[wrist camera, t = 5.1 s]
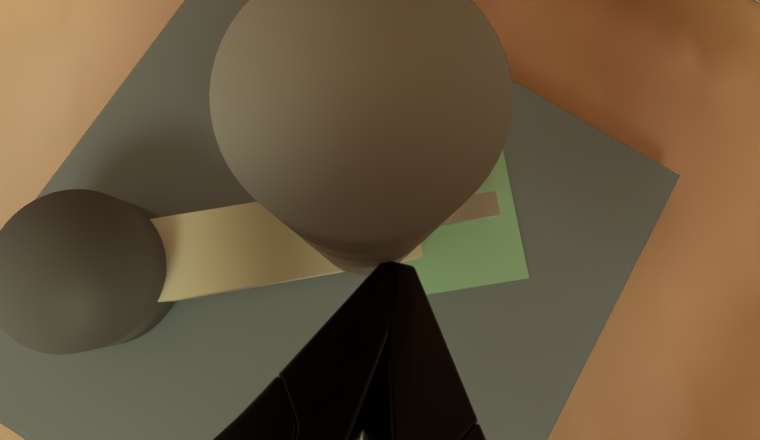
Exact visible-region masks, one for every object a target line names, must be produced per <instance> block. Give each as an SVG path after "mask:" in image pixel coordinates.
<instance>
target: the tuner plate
mask: <svg viewBox="0 0 760 440" xmlns="http://www.w3.org/2000/svg"><path fill="white" fill-rule="evenodd" d="M248 1H249V0H185V1H184V2H183V3H182V5H181V6H180V7H179V9H178V10H177V11H176V13H175V14H174V15H173V17H172V18H171V19H170V21H169V22H168V23H167V25H166V26H165V27H164V29H163V30H162V31H161V33H160V34H159V35H158V37H157V38H156V39H155V41H154V42H153V43H152V45H151V46H150V47H149V49H148V50H147V51H146V53H145V54H144V55H143V57H142V58H141V59H140V61H139V62H138V63H137V65H136V66H135V67H134V69H133V70H132V71H131V73H130V74H129V75H128V77H127V78H126V79H125V81H124V82H123V83H122V85H121V86H120V87H119V89H118V90H117V91H116V93H115V94H114V95H113V97H112V98H111V99H110V101H109V102H108V103H107V105H106V106H105V107H104V109H103V110H102V111H101V113H100V114H99V115H98V117H97V118H96V119H95V121H94V122H93V123H92V125H91V126H90V127H89V129H88V130H87V131H86V133H85V134H84V135H83V137H82V138H81V139H80V141H79V142H78V143H77V145H76V146H75V147H74V149H73V150H72V151H71V153H70V154H69V155H68V157H67V158H66V159H65V161H64V162H63V163H62V165H61V166H60V167H59V169H58V170H57V171H56V173H55V174H54V175H53V177H52V178H51V179H50V181H49V182H48V184H47V185H46V186H45V188H44V189H43V190H42V192H41V193H40V194H39V196H38V197H37V198H36V199H38V198H40V197H42V196H45V195H47V194H50V193H53V192H58V191H62V190H70V189H87V190H93V191H98V192H101V193H104V194H107V195H110V196H113V197H115V198H118V199H121V200H123V201H126V202H129V203H131V204H134V205H137V206H139V207H142V208H144V209H146V210H148V211H150V212H152V213H154V214H155V215H157V216H158V217H159V218H160V217H166V216H172V215H178V214H184V213H190V212H196V211H203V210H209V209H215V208H221V207H227V206H233V205H239V204H246V203H252V202H257V201H256V200H255V199H254V198H253V197H252V196H251V195H250V194H249V193H248V192H247V191H246V190H245V188H244V187H243V186H242V185H241V184H240V183H239V181H238V180H237V178H236V177H235V176H234V174H233V173H232V171H231V170H230V168H229V167H228V165H227V163H226V161H225V159H224V157H223V155H222V153H221V151H220V148H219V145H218V143H217V140H216V137H215V134H214V130H213V125H212V120H211V115H210V99H209V92H210V80H211V73H212V69H213V64H214V60H215V56H216V54H217V51H218V49H219V46H220V43H221V41H222V39H223V37H224V35H225V33H226V31H227V29H228V28H229V26H230V24H231V22H232V21H233V20H234V18H235V17H236V16H237V14H238V13H239V12H240V10H241V9H242V8H243V7H244V6H245V5H246V3H247V2H248ZM511 81H512V80H511ZM512 94H513V107H512V116H511V124H510V128H509V131H508V135H507V139H506V143H505V145H504V147H503V150H502V152H501V155H500V157H499V159H498V161H497V163H496V165H495V166H494V168H493V170H492V171H491V173H490V175H489V176H488V178H487V179H486V180H485V181H484V183H483V184H482V185H481V186H480V188H479V189H478V190H477V191H476V192H475V193H474V194H480V193H486V192H492V191H496V195H497V200H498V204H499V209H500V214H499V215H497V216H496V217H492V218H486V219H480V220H474V221H468V222H462V223H456V224H451V225H445V226H439V227H438V228H437V229H436V230H435V231H434V232H433V233H432V234H430V235H429V236H428V237H427V238H426V239H425V240H424V241H423V242H422V243H421V246H422V252H423V257H421V258H420V259H416V260H411V261H405V262H400V263H403V264H407V265H411V266H413V267H414V268H415V269H416V271H417V274H418V276H419V279H420V281H421V283H422V286H423V288H424V291H425V293H426V296H427V298H428V300H429V303H430V305H431V308H432V310H433V313H434V315H435V317H436V320H437V322H438V325H439V327H440V329H441V332H442V334H443V337H444V339H445V342H446V344H447V346H448V349H449V351H450V354H451V356H452V359H453V361H454V363H455V366H456V368H457V371H458V373H459V375H460V378H461V380H462V383H463V385H464V388H465V390H466V392H467V395H468V397H469V400H470V402H471V405H472V407H473V409H474V412H475V414H476V417H477V419H478V422H477V424H479V425H480V426H481V428H482V431H483V433H484V436H485V438H486V440H547V438H548V436H549V434H550V433H551V431H552V429H553V427H554V425H555V423H556V421H557V419H558V417H559V415H560V413H561V411H562V409H563V407H564V405H565V403H566V401H567V399H568V397H569V395H570V393H571V391H572V389H573V387H574V385H575V383H576V381H577V379H578V377H579V375H580V373H581V371H582V369H583V367H584V365H585V363H586V361H587V359H588V357H589V355H590V353H591V351H592V349H593V347H594V345H595V343H596V341H597V339H598V337H599V335H600V333H601V331H602V329H603V327H604V325H605V323H606V321H607V319H608V317H609V315H610V313H611V311H612V309H613V307H614V305H615V303H616V301H617V300H618V298H619V296H620V294H621V292H622V290H623V288H624V286H625V284H626V282H627V280H628V278H629V276H630V274H631V272H632V270H633V268H634V266H635V264H636V262H637V260H638V258H639V256H640V254H641V252H642V250H643V248H644V246H645V244H646V242H647V240H648V238H649V236H650V234H651V232H652V230H653V228H654V226H655V224H656V222H657V220H658V218H659V216H660V214H661V212H662V210H663V208H664V206H665V204H666V202H667V200H668V198H669V196H670V194H671V192H672V190H673V188H674V186H675V184H676V182H677V180H678V178H679V176H680V175H678V174H676V173H675V172H673V171H671V170H669V169H668V168H666V167H664V166H662V165H660V164H659V163H657V162H655V161H653V160H652V159H650V158H648V157H646V156H645V155H643V154H641V153H639V152H638V151H636V150H634V149H632V148H630V147H629V146H627V145H625V144H623V143H622V142H620V141H618V140H616V139H615V138H613V137H611V136H609V135H608V134H606V133H604V132H602V131H601V130H599V129H597V128H595V127H593V126H592V125H590V124H588V123H586V122H585V121H583V120H581V119H579V118H578V117H576V116H574V115H572V114H571V113H569V112H567V111H565V110H563V109H562V108H560V107H558V106H556V105H555V104H553V103H551V102H549V101H548V100H546V99H544V98H542V97H541V96H539V95H537V94H535V93H533V92H532V91H530V90H528V89H526V88H525V87H523V86H521V85H519V84H518V83H516V82H514V81H512ZM474 194H473V195H474ZM367 277H368V276H360V275H354V274H350V273H347V272H341V273H335V274H329V275H324V276H318V277H312V278H306V279H301V280H295V281H289V282H283V283H277V284H272V285H266V286H260V287H254V288H248V289H243V290H237V291H231V292H225V293H219V294H214V295H208V296H202V297H196V298H190V299H185V300H179V301H175V302H174V304H173V306H172V308H171V309H170V311H169V312H168V314H167V315H166V316H165V317H164V318H163V319H162V321H161V322H160V323H159V324H157V325H156V326H155V327H154V328H153V329H152V330H150V331H149V332H147V333H146V334H144V335H142V336H141V337H139V338H137V339H134V340H132V341H129V342H127V343H122V344H118V345H114V346H109V347H104V348H99V349H94V350H90V351H85V352H80V353H75V354H66V355H56V354H47V353H41V352H38V351H35V350H31V349H29V348H27V347H25V346H23V345H21V344H20V343H18V342H17V341H15V340H13V339H12V338H11V337H10V336H9V335H8V334H7V333H6V332H5V331H4V330H3V329H2V328H1V327H0V423H1V424H3V425H4V426H6V427H7V428H9V429H10V430H12V431H13V432H15V433H16V434H18V435H19V436H21V437H22V438H24V439H25V440H213V439H214V438H215V437H216V436H217V435H218V434H219V433H220V432H222V431H223V430H224V429H225V428H226V427H227V426H228V425H229V424H230V423H231V422H233V421H234V420H235V419H236V418H237V417H238V416H239V415H240V414H241V413H242V412H243V411H244V410H245V409H246V408H247V407H248V406H249V405H250V404H251V403H252V402H253V401H254V400H255V399H256V397H257V396H258V395H259V394H260V393H261V392H262V391H263V390H264V389H265V388H266V387H267V386H268V385H269V384H270V382H271V381H272V380H273V379H274V378H275V377H279V373H280V372H281V371H282V370H283V369H284V368H285V366H286V365H287V364H288V363H289V362H290V361H291V360H292V359H293V358H294V357H295V356H296V354H297V353H298V352H299V351H300V350H301V349H302V348H303V347H304V346H305V345H306V344H307V342H308V341H309V340H310V339H311V338H312V337H313V336H314V335H315V334H316V333H317V331H318V330H319V329H320V328H321V327H322V326H323V325H324V324H325V323H326V322H327V321H328V319H329V318H330V317H331V316H332V315H333V314H334V313H335V312H336V311H337V310H338V309H339V307H340V306H341V305H342V304H343V303H344V302H345V301H346V300H347V299H348V298H349V297H350V295H351V294H352V293H353V292H354V291H355V290H356V289H357V288H358V287H359V286H360V285H361V283H362V282H363V281H364V280H365V279H366V278H367ZM362 438H363V432H362V435H361V438H360V440H362Z"/></svg>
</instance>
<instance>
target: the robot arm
mask: <svg viewBox="0 0 760 440" xmlns="http://www.w3.org/2000/svg"><path fill="white" fill-rule="evenodd" d="M477 422H478V419H477V417H476V414H475V412H474V409H473V407H472V405H471V402H470V400H469V397H468V395H467V392H466V390H465V388H464V385H463V383H462V380H461V378H460V375H459V373H458V371H457V368H456V366H455V363H454V361H453V359H452V356H451V354H450V351H449V349H448V346H447V344H446V342H445V339H444V337H443V334H442V332H441V329H440V327H439V325H438V322H437V320H436V317H435V315H434V313H433V310H432V308H431V305H430V303H429V300H428V298H427V296H426V293H425V291H424V288H423V286H422V283H421V281H420V279H419V276H418V274H417V271H416V269H415V268H414V267H413V266H411V265H407V264H403V263H398V262H394V261H390V262H385V263H381V264H379V265H378V266H377V267H376V268H375V269H374V270H373V271H372V273H371V274H370V275H369V276H368V277H367V278H366V279H365V280H364V281H363V282H362V283H361V285H360V286H359V287H358V288H357V289H356V290H355V291H354V292H353V293H352V294H351V295H350V297H349V298H348V299H347V300H346V301H345V302H344V303H343V304H342V305H341V306H340V307H339V309H338V310H337V311H336V312H335V313H334V314H333V315H332V316H331V317H330V318H329V319H328V321H327V322H326V323H325V324H324V325H323V326H322V327H321V328H320V329H319V330H318V331H317V333H316V334H315V335H314V336H313V337H312V338H311V339H310V340H309V341H308V342H307V344H306V345H305V346H304V347H303V348H302V349H301V350H300V351H299V352H298V353H297V354H296V356H295V357H294V358H293V359H292V360H291V361H290V362H289V363H288V364H287V365H286V366H285V368H284V369H283V370H282V371H281V372H280V373H279V377H275V378H274V379H273V380H272V381H271V382H270V384H269V385H268V386H267V387H266V388H265V389H264V390H263V391H262V392H261V393H260V394H259V395H258V396H257V397H256V399H255V400H254V401H253V402H252V403H251V404H250V405H249V406H248V407H247V408H246V409H245V410H244V411H243V412H242V413H241V414H240V415H239V416H238V417H237V418H236V419H235V420H234V421H233V422H231V423H230V424H229V425H228V426H227V427H226V428H225V429H224V430H223V431H222V432H220V433H219V434H218V435H217V436H216V437H215V438H214V439H213V440H360V438H361V435H362V432H363V438H362V440H486V438H485V436H484V433H483V431H482V428H481V426H480V425H479V424H477Z"/></svg>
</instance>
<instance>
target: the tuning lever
mask: <svg viewBox="0 0 760 440" xmlns="http://www.w3.org/2000/svg"><path fill="white" fill-rule="evenodd" d="M209 99H210V115H211V120H212V125H213V130H214V134H215V137H216V140H217V143H218V145H219V148H220V151H221V153H222V155H223V157H224V159H225V161H226V163H227V165H228V167H229V168H230V170H231V171H232V173H233V174H234V176H235V177H236V178H237V180H238V181H239V183H240V184H241V185H242V186H243V187H244V188H245V190H246V191H247V192H248V193H249V194H250V195H251V196H252V197H253V198H254V199H255V200H256V201H257V202H252V203H246V204H239V205H233V206H227V207H221V208H215V209H209V210H203V211H196V212H190V213H184V214H178V215H172V216H166V217H160V218H159V217H158V216H157V215H155V214H154V213H152V212H150V211H148V210H146V209H144V208H142V207H139V206H137V205H134V204H131V203H129V202H126V201H123V200H121V199H118V198H115V197H113V196H110V195H107V194H104V193H101V192H98V191H93V190H87V189H70V190H62V191H58V192H53V193H50V194H47V195H45V196H42V197H40V198H38V199H36V200H34V201H32V202H31V203H29V204H27V205H26V206H24V207H23V208H22V209H21V210H19V211H18V212H17V213H16V214H14V216H13V217H12V218H11V219H10V220H9V221H8V222H7V223H6V224H5V226H4V227H3V228H2V229H1V231H0V327H1V328H2V329H3V330H4V331H5V332H6V333H7V334H8V335H9V336H10V337H11V338H12V339H13V340H15V341H17V342H18V343H20V344H21V345H23V346H25V347H27V348H29V349H31V350H35V351H38V352H41V353H47V354H56V355H66V354H75V353H80V352H85V351H90V350H94V349H99V348H104V347H109V346H114V345H118V344H122V343H127V342H129V341H132V340H134V339H137V338H139V337H141V336H142V335H144V334H146V333H147V332H149V331H150V330H152V329H153V328H154V327H155V326H156V325H157V324H159V323H160V322H161V321H162V319H163V318H164V317H165V316H166V315H167V314H168V312H169V311H170V309H171V308H172V306H173V304H174V302H175V301H179V300H185V299H190V298H196V297H202V296H208V295H214V294H219V293H225V292H231V291H237V290H243V289H248V288H254V287H260V286H266V285H272V284H277V283H283V282H289V281H295V280H301V279H306V278H312V277H318V276H324V275H329V274H335V273H341V272H347V273H350V274H354V275H360V276H369V275H370V274H371V273H372V271H373V270H374V269H375V268H376V267H377V266H378V265H379V264H381V263H385V262H390V261H394V262H398V263H400V262H405V261H411V260H416V259H420V258H421V257H423V252H422V246H421V243H422V242H423V241H424V240H425V239H426V238H427V237H428V236H429V235H430V234H432V233H433V232H434V231H435V230H436V229H437V228H438V227H439V226H445V225H451V224H456V223H462V222H468V221H474V220H480V219H486V218H492V217H496V216H497V215H499V214H500V209H499V204H498V200H497V195H496V191H492V192H486V193H480V194H474V193H475V192H476V191H477V190H478V189H479V188H480V186H481V185H482V184H483V183H484V181H485V180H486V179H487V178H488V176H489V175H490V173H491V171H492V170H493V168H494V166H495V165H496V163H497V161H498V159H499V157H500V155H501V152H502V150H503V147H504V145H505V143H506V139H507V135H508V131H509V128H510V124H511V116H512V107H513V94H512V81H511V75H510V69H509V65H508V62H507V59H506V55H505V52H504V49H503V47H502V45H501V43H500V40H499V38H498V36H497V34H496V32H495V31H494V29H493V27H492V26H491V24H490V23H489V21H488V19H487V18H486V17H485V15H484V14H483V13H482V12H481V10H480V9H479V8H478V7H477V6H476V4H475V3H474V2H473V1H472V0H249V1H248V2H247V3H246V5H245V6H244V7H243V8H242V9H241V10H240V12H239V13H238V14H237V16H236V17H235V18H234V20H233V21H232V22H231V24H230V26H229V28H228V29H227V31H226V33H225V35H224V37H223V39H222V41H221V43H220V46H219V49H218V51H217V54H216V56H215V60H214V64H213V69H212V73H211V80H210V92H209ZM473 194H474V195H473Z"/></svg>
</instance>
